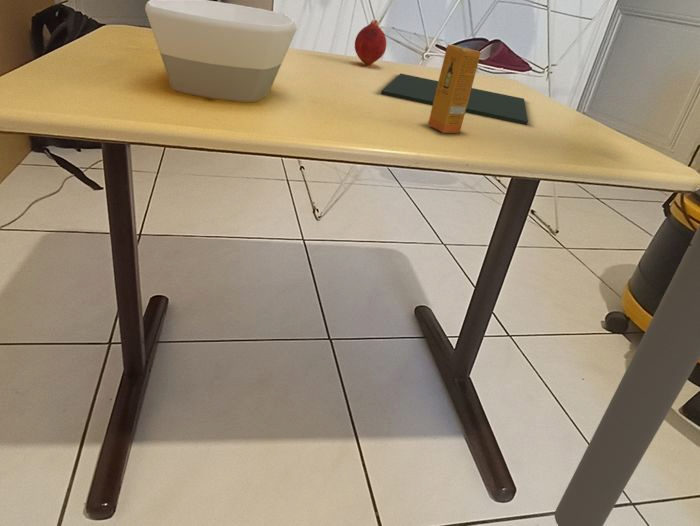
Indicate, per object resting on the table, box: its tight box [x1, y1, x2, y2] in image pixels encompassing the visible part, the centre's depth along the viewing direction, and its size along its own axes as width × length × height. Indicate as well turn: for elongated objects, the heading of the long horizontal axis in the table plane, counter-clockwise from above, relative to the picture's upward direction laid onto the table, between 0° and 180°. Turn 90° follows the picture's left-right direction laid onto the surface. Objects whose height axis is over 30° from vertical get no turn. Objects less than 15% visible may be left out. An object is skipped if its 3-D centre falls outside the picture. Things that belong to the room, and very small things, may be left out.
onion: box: [354, 19, 387, 67], centre depth 102 cm, size 6×6×8 cm
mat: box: [380, 73, 529, 126], centre depth 90 cm, size 22×18×1 cm
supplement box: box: [427, 44, 482, 134], centre depth 69 cm, size 3×3×10 cm
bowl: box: [144, 0, 297, 103], centre depth 70 cm, size 18×18×9 cm
